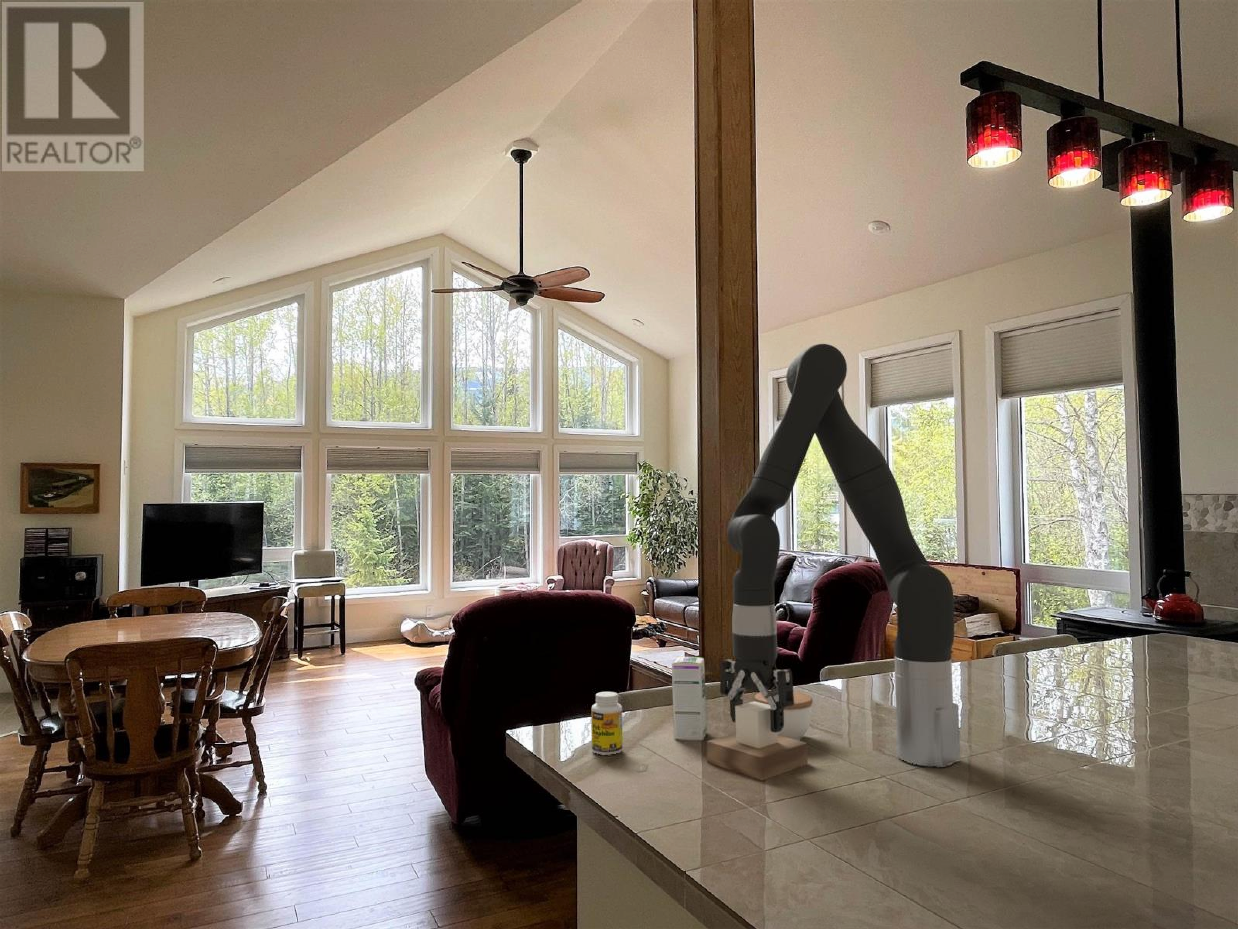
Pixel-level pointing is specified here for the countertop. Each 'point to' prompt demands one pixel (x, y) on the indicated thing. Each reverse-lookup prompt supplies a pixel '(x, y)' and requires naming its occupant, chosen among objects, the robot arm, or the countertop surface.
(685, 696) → the syrup box
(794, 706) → the lidded jar
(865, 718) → the countertop surface
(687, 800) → the countertop surface
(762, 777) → the walnut block
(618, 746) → the supplement bottle
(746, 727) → the cream block
